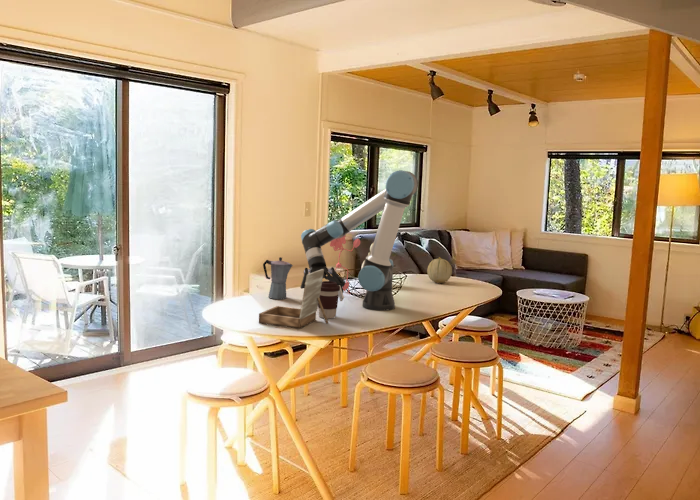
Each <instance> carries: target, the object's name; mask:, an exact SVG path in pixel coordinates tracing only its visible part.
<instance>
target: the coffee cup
mask: <svg viewBox="0 0 700 500" xmlns="http://www.w3.org/2000/svg"><path fill="white" fill-rule="evenodd" d="M339 290H340V286H338V285H337V283H336V282H332V281H329V280H327V281H326V280H322V285H321V291H320V296H319V298H320V301H321V304H322V306H323V309H324V312H325V315H326V317H327V320H329V319H334V318H336V315H337V309H338V302H339V295H338V291H339ZM318 317H319V318H320V319H324V316H323V314H322V311H321V308H320V305H319V303H318Z"/></svg>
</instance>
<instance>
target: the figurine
mask: <svg viewBox="0 0 700 500" xmlns="http://www.w3.org/2000/svg"><path fill="white" fill-rule="evenodd" d="M346 235H347V234H346ZM346 235H345V236H344V237H342V238H338V239H335V240H332V241H330V242H329V247H332V248H333V250H334V252H337V251H340V252H339V253H338V261H337V263H336V264H335V268H334V269H335V271H336V270H337V268H338V269H340V268H343V269H345V270H347V273H346V281H345V285H344V287H343V291H344V292H346V289H347V290H348V294H350V295H351V292H350V287H349V286H350V282H349V281H348V275H349V269H348V268H346V267H343V266H342V265H343V264H342V263H340V259H341V253H342V251H344V250H345V251H347V252H351V253H352V252H353V250H354V248H355V249H357V248H358V247H359V246H360V245H361V240H360V238H355V240H354V241H353V243H352V244H353V247H352V248H351V250H350V249H347V248H344V246H343V245H345V244H347V242H346V241H347V239H346V237H347V236H346ZM349 292H350V293H349Z"/></svg>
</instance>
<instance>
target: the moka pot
mask: <svg viewBox="0 0 700 500" xmlns="http://www.w3.org/2000/svg"><path fill="white" fill-rule="evenodd" d="M266 264H267V265H270V269H271V270H270V274H271V275H270V276H268V271H267V267H266ZM293 266H294V265H293V264H291V263H290V262H287V261H284V260H283V257H278V260H269V259H266V260H265V261H264V262H262V267H263V270H264V271H263V272H264V274H265V275H264V276H265V279H267V280H271V282H270V283H271V284H270V287H269V292H268V293H269V294H268V298H270V299H273V300H274V299H275V300H285V299H287V284H286V283H287V278H288V274H289V272H290V270H291V269H292V267H293Z"/></svg>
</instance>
